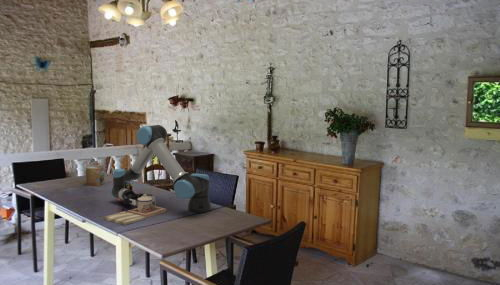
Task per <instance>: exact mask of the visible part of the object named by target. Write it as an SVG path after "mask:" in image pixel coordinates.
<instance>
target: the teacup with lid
mask: <svg viewBox="0 0 500 285" xmlns="http://www.w3.org/2000/svg"><path fill="white" fill-rule="evenodd" d="M143 194H144V195H143V196H142V197H140V198H138V200H136V202H137V208H138V212H140V213H144V214H145V213H149V212H152V211H153V210H152V208H154V207H155V206H157V201H156V200H155V201H154V200H153V199H152V198H151V197H148V196H147V195H146V194H147V193H143ZM153 201H154V204H153ZM152 206H153V207H152Z"/></svg>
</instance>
